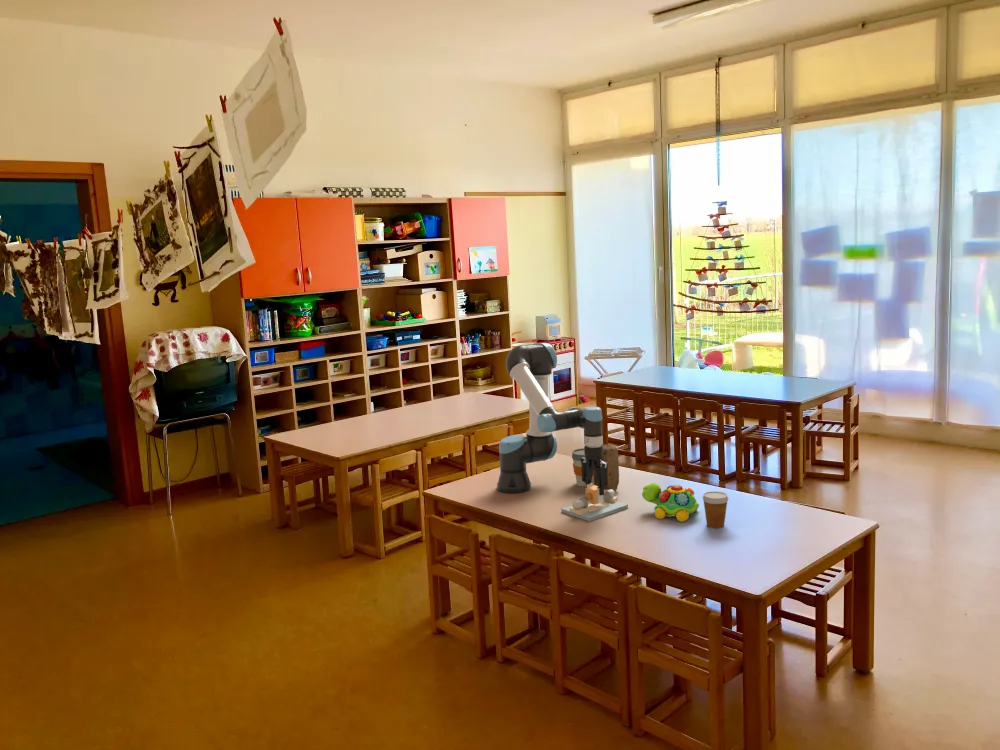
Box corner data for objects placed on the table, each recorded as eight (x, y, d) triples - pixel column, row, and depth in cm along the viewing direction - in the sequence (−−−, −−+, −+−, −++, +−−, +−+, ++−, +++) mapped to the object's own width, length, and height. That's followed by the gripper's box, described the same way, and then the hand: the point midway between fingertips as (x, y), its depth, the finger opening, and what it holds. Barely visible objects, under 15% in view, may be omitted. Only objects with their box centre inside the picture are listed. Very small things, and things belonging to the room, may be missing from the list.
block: (621, 490, 347) (620, 446, 344) (609, 494, 343) (608, 449, 339) (603, 485, 356) (601, 442, 352) (591, 489, 351) (589, 445, 348)
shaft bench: (561, 512, 324) (561, 496, 322) (601, 498, 338) (601, 483, 337) (589, 521, 311) (589, 504, 310) (630, 507, 325) (629, 491, 324)
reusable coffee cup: (567, 482, 363) (566, 450, 360) (590, 478, 368) (589, 446, 366) (582, 489, 351) (581, 456, 349) (606, 484, 357) (605, 452, 355)
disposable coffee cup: (716, 531, 294) (716, 500, 292) (697, 524, 302) (696, 494, 300) (734, 525, 299) (734, 495, 297) (714, 519, 307) (714, 489, 305)
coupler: (581, 503, 322) (581, 489, 321) (598, 497, 328) (598, 483, 328) (590, 506, 318) (590, 491, 318) (607, 500, 325) (607, 486, 324)
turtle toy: (650, 503, 329) (649, 476, 327) (705, 511, 317) (705, 482, 315) (634, 516, 315) (634, 488, 313) (692, 524, 303) (692, 495, 301)
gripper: (571, 443, 325) (573, 498, 328) (603, 450, 311) (604, 508, 314) (584, 440, 329) (586, 494, 333) (616, 447, 315) (617, 503, 319)
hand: (595, 500), depth 324 cm, fingers closed on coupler, 5 cm apart
